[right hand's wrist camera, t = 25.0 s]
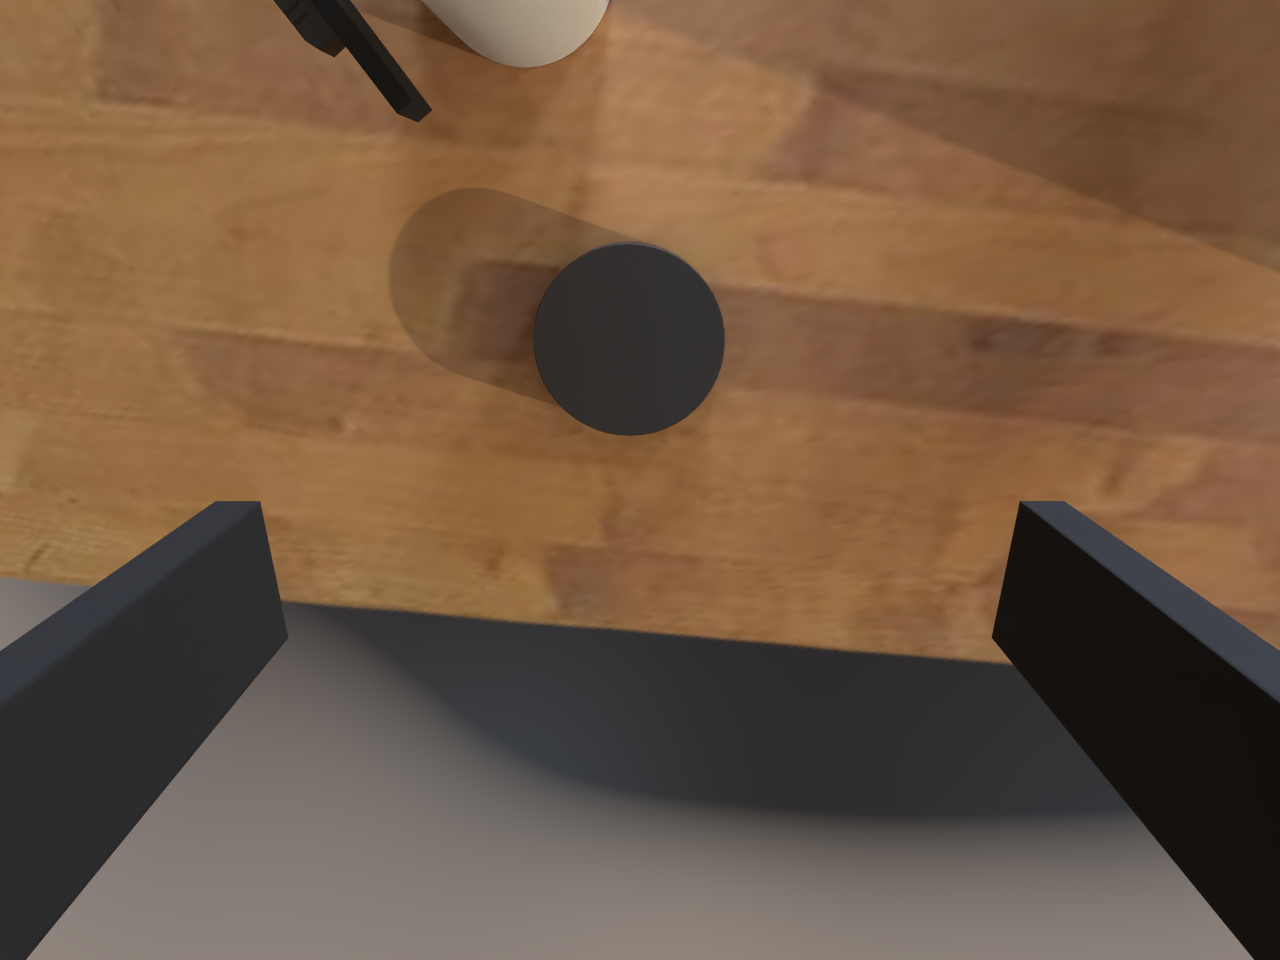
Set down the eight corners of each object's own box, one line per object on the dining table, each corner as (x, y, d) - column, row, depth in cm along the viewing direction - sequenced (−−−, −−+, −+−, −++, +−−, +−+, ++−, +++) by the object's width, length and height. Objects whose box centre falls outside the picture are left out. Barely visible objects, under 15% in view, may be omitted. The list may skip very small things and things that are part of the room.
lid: (723, 241, 35) (728, 243, 33) (717, 424, 38) (721, 435, 36) (533, 242, 35) (527, 244, 33) (543, 425, 38) (538, 436, 36)
